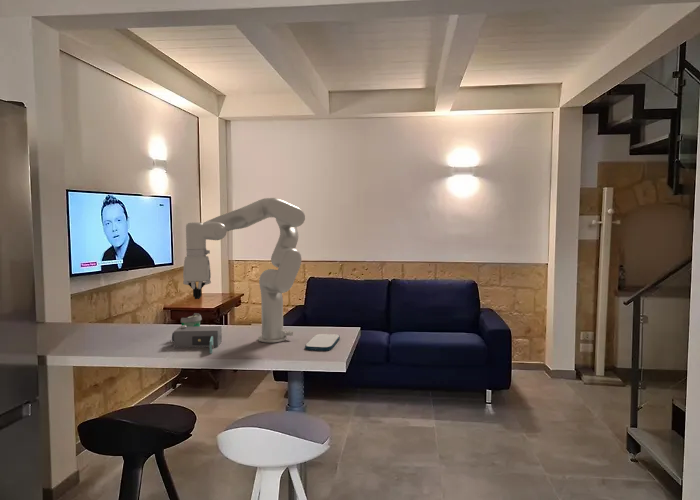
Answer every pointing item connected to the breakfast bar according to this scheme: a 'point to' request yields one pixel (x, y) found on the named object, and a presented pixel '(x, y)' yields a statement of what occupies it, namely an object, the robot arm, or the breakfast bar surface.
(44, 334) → the breakfast bar surface
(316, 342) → the external hard drive
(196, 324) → the food container
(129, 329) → the breakfast bar surface
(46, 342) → the breakfast bar surface
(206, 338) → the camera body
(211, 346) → the side door
